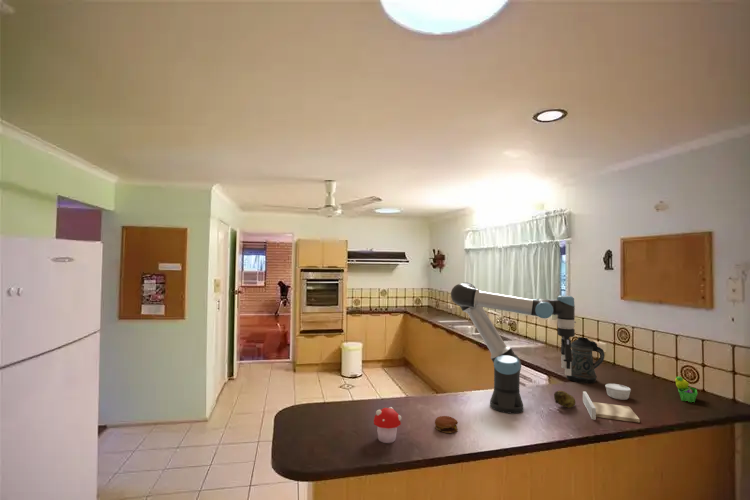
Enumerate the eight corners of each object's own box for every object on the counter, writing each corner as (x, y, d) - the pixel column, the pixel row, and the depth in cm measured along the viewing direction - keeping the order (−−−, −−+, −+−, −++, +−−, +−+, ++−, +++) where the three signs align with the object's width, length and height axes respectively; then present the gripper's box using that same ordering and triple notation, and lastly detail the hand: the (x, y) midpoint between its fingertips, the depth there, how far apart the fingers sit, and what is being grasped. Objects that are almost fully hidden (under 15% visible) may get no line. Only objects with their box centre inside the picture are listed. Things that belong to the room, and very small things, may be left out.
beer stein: (561, 375, 240) (561, 334, 241) (592, 375, 239) (592, 335, 240) (573, 383, 223) (573, 340, 224) (607, 384, 223) (607, 341, 223)
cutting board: (595, 416, 175) (595, 413, 175) (589, 404, 190) (589, 401, 190) (639, 422, 169) (639, 419, 169) (629, 409, 184) (629, 406, 184)
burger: (434, 423, 165) (435, 412, 165) (456, 425, 163) (457, 414, 163) (434, 433, 155) (434, 422, 155) (458, 436, 153) (458, 424, 153)
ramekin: (635, 399, 199) (635, 389, 199) (620, 401, 195) (620, 391, 195) (615, 392, 209) (615, 382, 209) (600, 394, 205) (600, 384, 205)
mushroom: (399, 433, 154) (400, 403, 155) (402, 446, 144) (402, 413, 144) (373, 433, 154) (373, 402, 154) (373, 446, 143) (374, 413, 144)
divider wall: (591, 419, 172) (591, 408, 172) (582, 401, 194) (582, 391, 194) (595, 419, 171) (595, 408, 171) (586, 401, 194) (586, 391, 194)
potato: (583, 409, 184) (583, 392, 184) (560, 411, 180) (560, 394, 181) (570, 402, 192) (570, 386, 192) (548, 404, 188) (548, 388, 189)
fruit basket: (697, 404, 193) (697, 381, 193) (675, 400, 198) (675, 378, 199) (696, 398, 202) (696, 376, 202) (675, 394, 207) (674, 373, 208)
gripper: (578, 332, 174) (578, 379, 174) (570, 324, 198) (571, 365, 197) (560, 331, 177) (560, 377, 176) (554, 323, 200) (555, 364, 200)
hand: (566, 371), depth 187 cm, fingers open, 13 cm apart
